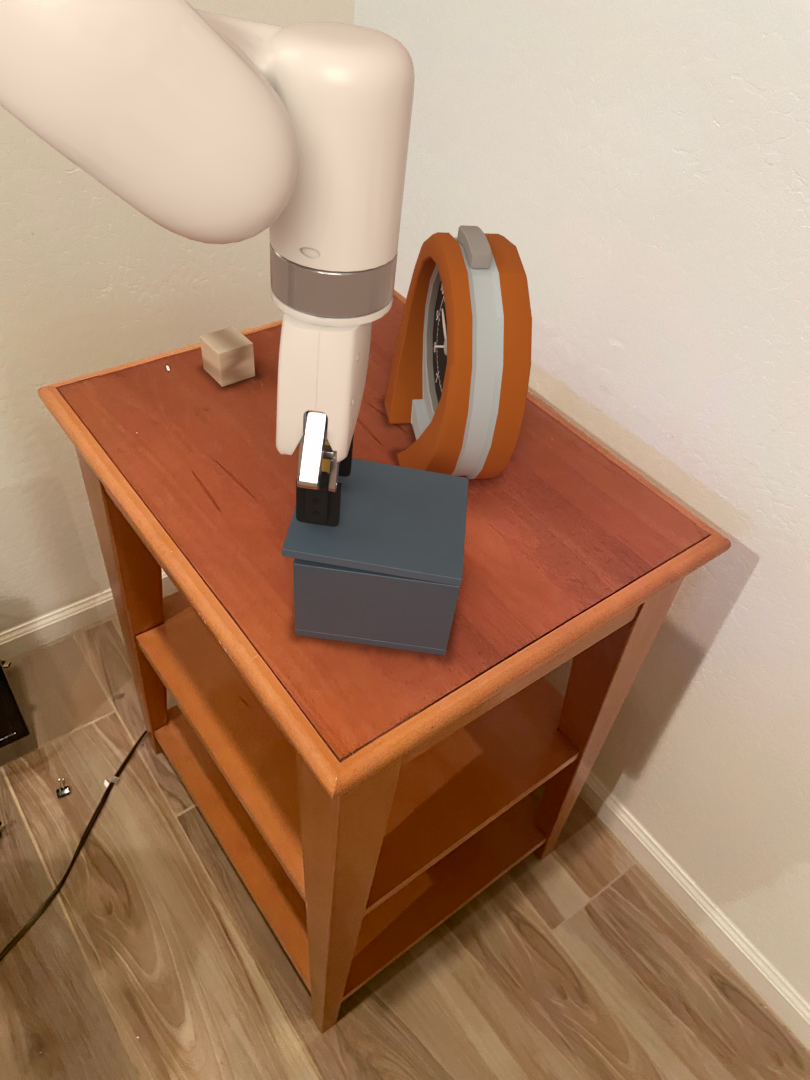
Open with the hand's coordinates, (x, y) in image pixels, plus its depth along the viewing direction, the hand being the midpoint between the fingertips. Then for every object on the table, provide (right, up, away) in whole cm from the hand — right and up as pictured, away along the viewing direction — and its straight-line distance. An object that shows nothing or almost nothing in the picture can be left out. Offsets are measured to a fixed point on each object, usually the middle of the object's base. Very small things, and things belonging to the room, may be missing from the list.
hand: (324, 494), depth 57 cm
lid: (+4, -2, +1) cm, 5 cm away
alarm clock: (+10, +8, +24) cm, 27 cm away
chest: (+4, -8, +8) cm, 12 cm away
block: (-14, +16, +29) cm, 36 cm away
